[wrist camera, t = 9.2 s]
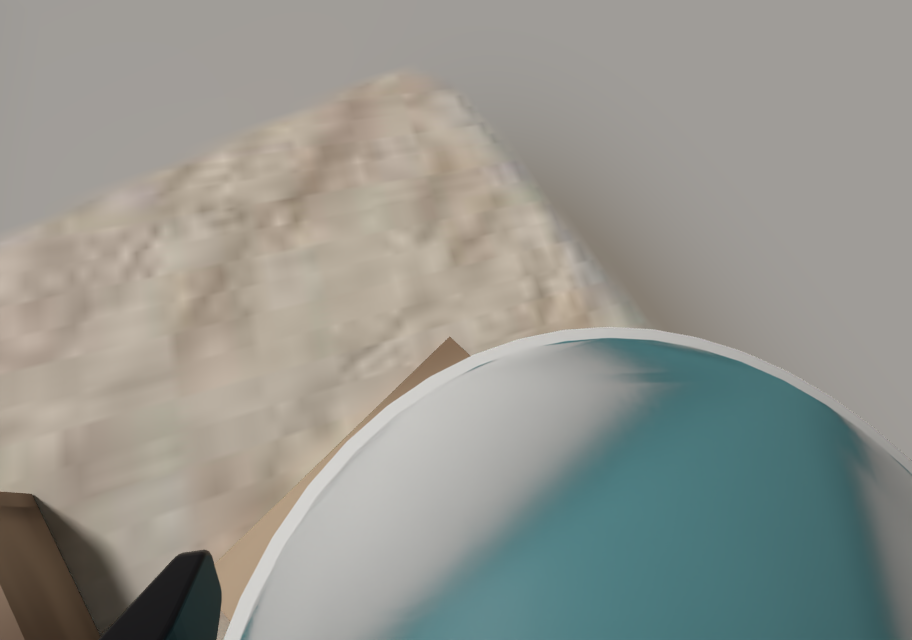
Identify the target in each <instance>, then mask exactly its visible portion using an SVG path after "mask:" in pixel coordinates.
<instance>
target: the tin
mask: <svg viewBox="0 0 912 640" xmlns="http://www.w3.org/2000/svg"><path fill="white" fill-rule="evenodd" d="M224 640H912V460H911V459H909V458H908V457H907V456H906V455H905V454H904V453H902V452H901V451H900V450H899V449H898V448H897V447H896V446H895V445H893V444H892V443H891V442H890V441H889V440H888V439H887V438H885V437H884V436H883V435H882V434H881V433H880V432H879V431H877V430H876V429H875V428H874V427H872V425H870V424H869V423H868V422H866V421H865V420H863V419H862V418H861V417H859V416H858V415H856V414H855V413H854V412H852V411H851V410H850V409H848V408H847V407H845V406H844V405H842V404H841V403H840V402H838V401H837V400H836V399H834V398H833V397H831V396H830V395H828V394H826V393H825V392H823V391H821V390H819V389H818V388H816V387H814V386H813V385H811V384H809V383H807V382H805V381H804V380H802V379H800V378H798V377H797V376H795V375H793V374H792V373H790V372H788V371H786V370H784V369H782V368H779V367H777V366H775V365H773V364H770V363H768V362H766V361H764V360H761V359H759V358H757V357H754V356H752V355H750V354H747V353H745V352H743V351H740V350H737V349H734V348H730V347H727V346H724V345H720V344H717V343H714V342H711V341H708V340H704V339H701V338H698V337H692V336H687V335H681V334H676V333H670V332H665V331H659V330H654V329H638V328H621V327H598V328H584V329H570V330H561V331H556V332H551V333H546V334H541V335H536V336H531V337H526V338H522V339H517V340H514V341H512V342H509V343H506V344H503V345H500V346H497V347H494V348H491V349H489V350H486V351H483V352H480V353H477V354H474V355H472V356H470V357H468V358H466V359H464V360H462V361H460V362H458V363H456V364H454V365H452V366H450V367H448V368H446V369H444V370H442V371H440V372H438V373H436V374H434V375H432V376H430V377H429V378H427V379H426V380H424V381H423V382H421V383H420V384H419V385H417V386H416V387H414V388H413V389H411V390H410V391H408V392H407V393H405V394H404V395H402V396H401V397H399V398H398V399H396V400H395V401H394V402H392V403H391V404H389V405H388V406H386V407H385V408H384V409H383V410H382V411H381V412H380V413H379V414H377V415H376V416H375V417H374V418H373V419H372V420H371V421H370V422H368V423H367V424H366V425H365V426H364V427H363V428H362V429H361V430H359V431H358V432H357V433H356V434H355V435H354V436H353V437H351V438H350V439H349V440H348V441H347V442H346V443H345V444H344V445H343V446H342V448H341V449H340V450H339V451H338V452H337V453H336V454H335V456H334V457H333V458H332V459H331V460H330V461H329V462H328V463H327V465H326V466H325V467H324V468H323V469H322V470H321V471H320V473H319V474H318V475H317V476H316V477H315V478H314V479H313V480H312V482H311V483H310V484H309V485H308V486H307V488H306V489H305V491H304V492H303V494H302V495H301V496H300V498H299V499H298V501H297V502H296V504H295V505H294V507H293V508H292V510H291V511H290V512H289V514H288V515H287V517H286V518H285V520H284V521H283V523H282V524H281V525H280V527H279V528H278V530H277V531H276V533H275V534H274V536H273V537H272V539H271V541H270V543H269V544H268V546H267V548H266V550H265V552H264V554H263V556H262V558H261V560H260V561H259V563H258V565H257V567H256V569H255V571H254V573H253V575H252V576H251V578H250V580H249V582H248V584H247V586H246V588H245V590H244V591H243V593H242V595H241V597H240V599H239V602H238V605H237V607H236V610H235V612H234V615H233V617H232V620H231V622H230V625H229V627H228V630H227V632H226V635H225V637H224Z"/></svg>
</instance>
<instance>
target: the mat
mask: <svg viewBox="0 0 912 640" xmlns="http://www.w3.org/2000/svg"><path fill="white" fill-rule="evenodd" d="M468 357H470V355H469V354H468V353H467V352H466V351H465V350H464V349H462V348H461V347H460V346H459V345H458V344H457V343H456V342H455V341H454V340H453V339H452V338H451V337H449V338H448V339H447V340H446V341H445V342H444V343H443V344H442V345H441V346H439V347H438V348H437V349H436V350H435V351H434V352H433V353H432V354H431V355H430V356H429V357H428V358H427V359H426V360H425V361H424V362H423V363H422V364H421V365H420V366H419V367H418V368H417V369H416V370H415V371H414V372H413V373H412V374H411V375H409V376H408V377H407V378H406V379H405V380H404V381H403V382H402V383H401V384H400V385H399V386H398V387H397V388H396V389H395V390H394V391H393V392H392V393H391V394H390V395H389V396H388V397H387V398H386V399H385V400H384V401H383V402H382V403H381V404H379V405H378V406H377V407H376V408H375V409H374V410H373V411H372V412H371V413H370V414H369V415H368V416H367V417H366V418H365V419H364V420H363V421H362V422H361V423H360V424H359V425H358V426H357V427H356V428H355V429H354V430H353V431H352V432H351V433H349V434H348V435H347V436H346V437H345V438H344V439H343V440H342V441H341V442H340V443H339V444H338V445H337V446H336V447H335V448H334V449H333V450H332V451H331V452H330V453H329V454H328V455H327V456H326V457H325V458H324V459H323V460H322V461H321V462H319V463H318V464H317V465H316V466H315V467H314V468H313V469H312V470H311V471H310V472H309V473H308V474H307V475H306V476H305V477H304V478H303V479H302V480H301V481H300V482H299V483H298V484H297V485H296V486H295V487H294V488H293V489H292V490H291V491H289V492H288V493H287V494H286V495H285V496H284V497H283V498H282V499H281V500H280V501H279V502H278V503H277V504H276V505H275V506H274V507H273V508H272V509H271V510H270V511H269V512H268V513H267V514H266V515H265V516H264V517H263V518H262V519H261V520H259V521H258V522H257V523H256V524H255V525H254V526H253V527H252V528H251V529H250V530H249V531H248V532H247V533H246V534H245V535H244V536H243V537H242V538H241V539H240V540H239V541H238V542H237V543H236V544H235V545H234V546H233V547H232V548H231V549H229V550H228V551H227V552H226V553H225V554H224V555H223V556H222V557H221V558H220V559H219V560H218V561H217V562H216V563H215V564H214V565H215V568H216V572H217V575H218V579H219V582H220V585H221V591H222V603H221V611H222V612H223V613H224V614H225V615H226V617H227V618H228V619H229V620H230V621H231V620H232V617H233V615H234V612H235V610H236V607H237V605H238V602H239V599H240V597H241V595H242V593H243V591H244V590H245V588H246V586H247V584H248V582H249V580H250V578H251V576H252V575H253V573H254V571H255V569H256V567H257V565H258V563H259V561H260V560H261V558H262V556H263V554H264V552H265V550H266V548H267V546H268V544H269V543H270V541H271V539H272V537H273V536H274V534H275V533H276V531H277V530H278V528H279V527H280V525H281V524H282V523H283V521H284V520H285V518H286V517H287V515H288V514H289V512H290V511H291V510H292V508H293V507H294V505H295V504H296V502H297V501H298V499H299V498H300V496H301V495H302V494H303V492H304V491H305V489H306V488H307V486H308V485H309V484H310V483H311V482H312V480H313V479H314V478H315V477H316V476H317V475H318V474H319V473H320V471H321V470H322V469H323V468H324V467H325V466H326V465H327V463H328V462H329V461H330V460H331V459H332V458H333V457H334V456H335V454H336V453H337V452H338V451H339V450H340V449H341V448H342V446H343V445H344V444H345V443H346V442H347V441H348V440H349V439H350V438H351V437H353V436H354V435H355V434H356V433H357V432H358V431H359V430H361V429H362V428H363V427H364V426H365V425H366V424H367V423H368V422H370V421H371V420H372V419H373V418H374V417H375V416H376V415H377V414H379V413H380V412H381V411H382V410H383V409H384V408H385V407H386V406H388V405H389V404H391V403H392V402H394V401H395V400H396V399H398V398H399V397H401V396H402V395H404V394H405V393H407V392H408V391H410V390H411V389H413V388H414V387H416V386H417V385H419V384H420V383H421V382H423V381H424V380H426V379H427V378H429V377H430V376H432V375H434V374H436V373H438V372H440V371H442V370H444V369H446V368H448V367H450V366H452V365H454V364H456V363H458V362H460V361H462V360H464V359H466V358H468Z"/></svg>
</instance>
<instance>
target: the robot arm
mask: <svg viewBox="0 0 912 640" xmlns="http://www.w3.org/2000/svg"><path fill="white" fill-rule="evenodd" d="M221 603H222V591H221V585H220V582H219V579H218V575H217V572H216V568H215V565H214V562H213V558H212V555H211V554H210V552H209V551H207V550H199V551H192V552H185V553H181V554H179V555H178V556H176V557H175V558H174V559H173V560H172V561H171V562H170V563H169V564H168V565H167V566H166V567H165V569H164V570H163V571H162V572H161V573H160V574H159V575H158V576H157V577H156V578H155V579H154V580H153V581H152V583H151V584H150V585H149V586H148V587H147V588H146V589H145V590H144V591H143V592H142V593H141V594H140V595H139V596H138V598H137V599H136V600H135V601H134V602H133V603H132V604H131V605H130V606H129V607H128V608H127V609H126V610H125V611H124V613H123V614H122V615H121V616H120V617H119V618H118V619H117V620H116V621H115V622H114V623H113V624H112V625H111V626H110V628H109V629H108V630H107V631H106V632H105V633H104V634H103V635H102V636H101V637H100V638H99V639H98V640H216V639H217V632H218V625H219V618H220V611H221Z"/></svg>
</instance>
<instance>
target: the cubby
mask: <svg viewBox="0 0 912 640" xmlns="http://www.w3.org/2000/svg"><path fill="white" fill-rule="evenodd" d="M99 638H100V635H99V633H98V631H97V629H96V627H95V624H94V622H93V620H92V618H91V616H90V614H89V612H88V610H87V608H86V606H85V604H84V602H83V600H82V597H81V595H80V593H79V591H78V589H77V587H76V585H75V583H74V581H73V579H72V577H71V575H70V572H69V570H68V568H67V566H66V564H65V562H64V560H63V558H62V556H61V554H60V552H59V550H58V548H57V545H56V543H55V541H54V539H53V537H52V535H51V533H50V531H49V529H48V527H47V525H46V523H45V520H44V518H43V516H42V514H41V512H40V510H39V508H38V506H37V504H36V502H35V500H34V498H33V496H32V494H25V493H11V492H0V640H98V639H99Z"/></svg>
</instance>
